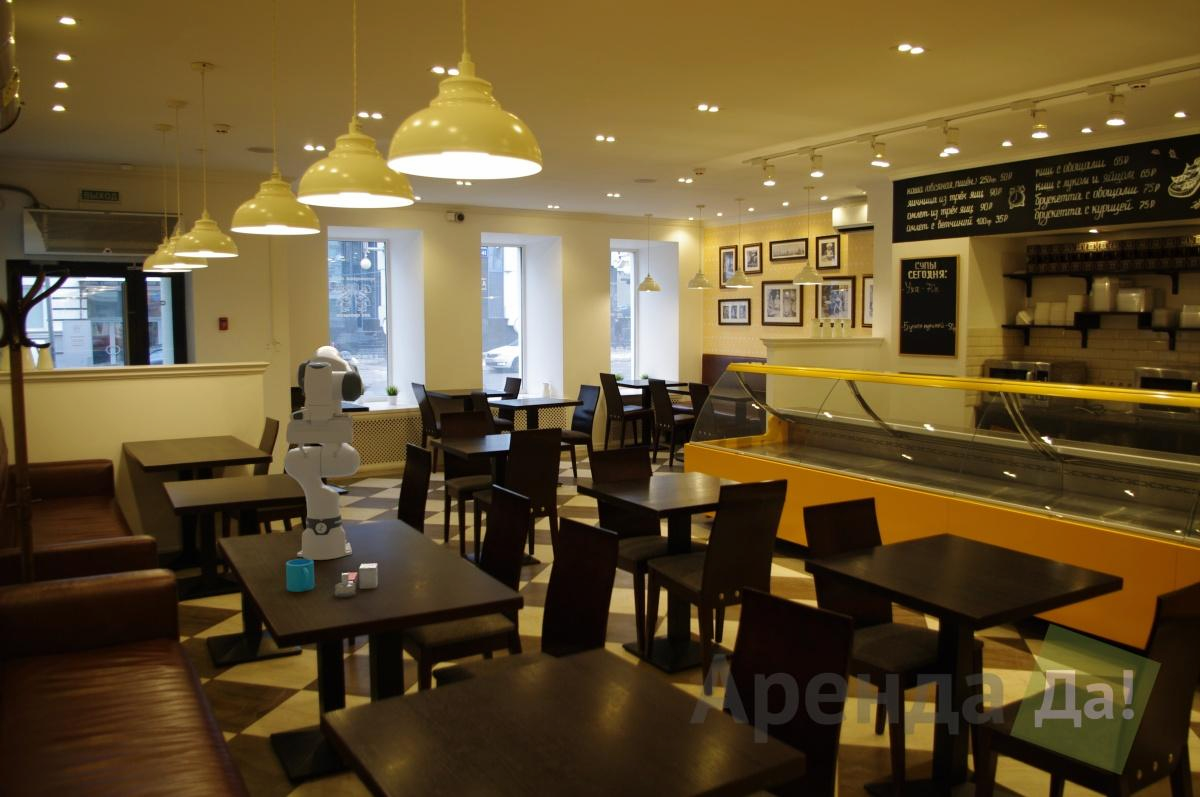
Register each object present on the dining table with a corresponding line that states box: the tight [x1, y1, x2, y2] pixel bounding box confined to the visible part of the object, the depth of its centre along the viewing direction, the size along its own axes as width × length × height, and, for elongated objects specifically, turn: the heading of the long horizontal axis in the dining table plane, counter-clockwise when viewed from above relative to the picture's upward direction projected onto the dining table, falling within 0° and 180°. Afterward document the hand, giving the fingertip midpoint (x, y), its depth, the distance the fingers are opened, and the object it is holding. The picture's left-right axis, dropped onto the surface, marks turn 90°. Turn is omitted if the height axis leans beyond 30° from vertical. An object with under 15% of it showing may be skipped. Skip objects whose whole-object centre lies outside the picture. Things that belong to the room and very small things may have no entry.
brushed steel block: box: [358, 563, 379, 590], centre depth 281 cm, size 5×5×6 cm
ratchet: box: [334, 571, 359, 599], centre depth 278 cm, size 18×6×6 cm, turn 8°
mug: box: [285, 558, 315, 593], centre depth 277 cm, size 12×8×8 cm
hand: (320, 457), depth 282 cm, fingers open, 8 cm apart
